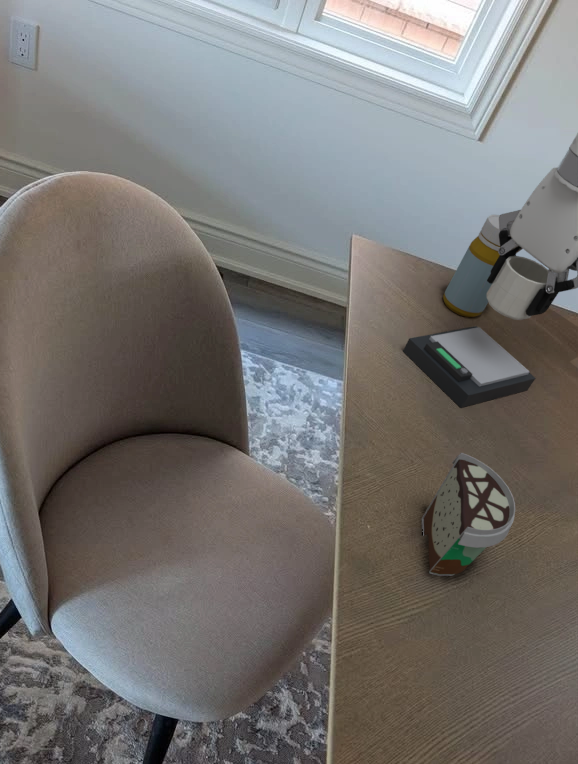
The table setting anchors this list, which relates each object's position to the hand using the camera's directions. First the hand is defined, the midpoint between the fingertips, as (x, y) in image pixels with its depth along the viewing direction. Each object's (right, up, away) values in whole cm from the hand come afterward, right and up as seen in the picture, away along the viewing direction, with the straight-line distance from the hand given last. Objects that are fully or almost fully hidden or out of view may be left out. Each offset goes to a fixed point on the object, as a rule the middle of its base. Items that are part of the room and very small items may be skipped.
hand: (514, 296), depth 104 cm
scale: (-4, -9, +8) cm, 13 cm away
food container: (-15, -34, -19) cm, 42 cm away
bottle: (0, +4, +22) cm, 23 cm away
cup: (0, -1, +1) cm, 2 cm away
